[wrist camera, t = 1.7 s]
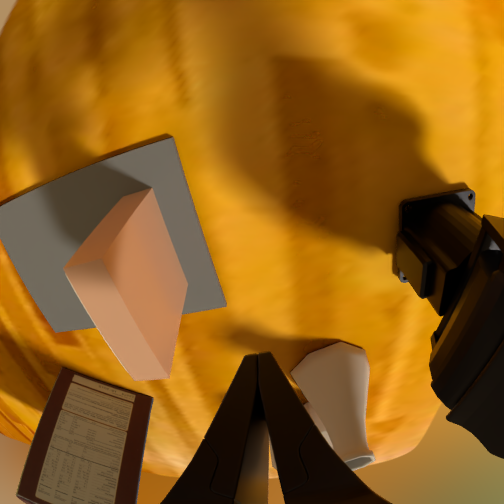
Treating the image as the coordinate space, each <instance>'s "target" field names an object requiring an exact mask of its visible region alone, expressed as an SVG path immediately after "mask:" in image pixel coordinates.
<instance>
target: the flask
mask: <svg viewBox="0 0 504 504" xmlns="http://www.w3.org/2000/svg"><path fill="white" fill-rule="evenodd" d="M369 371H370V366H369V363H368V359H367V356H366V352H365V350H364V349H361V348H358V347H355V346H352V345H349V344H346V343H343V342H339V343H336V344H333V345H331V346H328V347H325V348H323V349H320V350H317V351H315V352H312V353H309V354H308V355H307V356H306V357H305V358H304V359H303V360H302V361H301V362H300V363H299V364H298V365H297V366H296V367H295V368H294V369H293V370H292V372H291V373H290V374H291V375H292V377H293V379H294V380H295V382H296V383H297V385H298V386H299V388H300V389H301V391H302V393H303V394H304V396H305V397H306V399H307V400H308V401H309V403H310V404H311V406H312V407H313V409H314V410H315V412H316V414H317V415H318V417H319V418H320V420H321V421H322V423H323V425H324V426H325V428H326V431H327V433H328V435H329V438H330V440H331V442H332V445H333V449H334V451H335V452H336V453H337V455H338V456H339V457H340V458H341V459H342V460H343V461H344V462H345V463H346V465H347V466H348V467H349V468H350V469H351V470H352V471H353V470H356V469H360V468H363V467H365V466H367V465H369V464H370V463H372V462H374V461H375V456H374V454H373V452H372V451H371V450H369V448H368V444H367V440H366V426H365V417H366V405H367V393H368V383H369Z"/></svg>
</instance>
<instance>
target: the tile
mask: <svg viewBox="0 0 504 504" xmlns="http://www.w3.org/2000/svg"><path fill="white" fill-rule="evenodd" d="M63 269H64V271H65V274H66V276H67V278H68V280H69V282H70V284H71V285H72V287H73V289H74V291H75V292H76V294H77V296H78V298H79V299H80V301H81V303H82V304H83V306H84V308H85V309H86V311H87V313H88V314H89V316H90V318H91V319H92V321H93V322H94V324H95V326H96V327H97V329H98V330H99V332H100V333H101V335H102V336H103V338H104V339H105V341H106V342H107V344H108V345H109V347H110V348H111V350H112V351H113V353H114V354H115V356H116V357H117V358H118V360H119V361H120V363H121V364H122V365H123V367H124V368H125V370H126V371H127V372H128V373H129V374H130V376H131V377H132V378H133V380H134V381H141V380H155V379H167V378H170V372H171V367H172V361H173V356H174V351H175V345H176V340H177V335H178V330H179V325H180V320H181V315H182V311H183V306H184V301H185V296H186V292H187V287H188V282H187V280H186V277H185V275H184V272H183V270H182V267H181V264H180V262H179V259H178V257H177V254H176V252H175V249H174V246H173V244H172V241H171V238H170V236H169V233H168V230H167V228H166V225H165V222H164V219H163V217H162V214H161V211H160V208H159V205H158V203H157V200H156V197H155V194H154V191H153V188H150V189H146V190H143V191H140V192H136V193H133V194H130V195H126V196H123V197H122V198H121V199H120V200H119V202H118V203H117V204H116V205H115V206H114V207H113V208H112V209H111V210H110V212H109V213H108V214H107V215H106V216H105V217H104V218H103V220H102V221H101V222H100V223H99V224H98V226H97V227H96V228H95V229H94V230H93V231H92V233H91V234H90V235H89V236H88V237H87V239H86V240H85V241H84V242H83V244H82V245H81V246H80V247H79V249H78V250H77V251H76V252H75V254H74V255H73V256H72V257H71V259H70V260H69V261H68V263H67V264H66V265H65V267H64V268H63Z"/></svg>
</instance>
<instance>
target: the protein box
mask: <svg viewBox="0 0 504 504" xmlns="http://www.w3.org/2000/svg"><path fill="white" fill-rule="evenodd" d="M152 403H153V398H152V397H149V396H145V395H142V394H139V393H135V392H132V391H129V390H125V389H122V388H119V387H116V386H113V385H110V384H107V383H104V382H101V381H98V380H95V379H92V378H89V377H87V376H84V375H81V374H79V373H76V372H73V371H71V370H68V369H66V368H63V367H62V368H61V370H60V372H59V375H58V377H57V379H56V382H55V384H54V386H53V389H52V391H51V393H50V396H49V398H48V401H47V403H46V406H45V408H44V411H43V414H42V416H41V419H40V421H39V424H38V427H37V429H36V432H35V435H34V438H33V440H32V443H31V446H30V449H29V453H28V456H27V459H26V462H25V465H24V469H23V472H22V475H21V478H20V482H19V485H18V489H17V493H16V496H17V497H18V498H19V499H20V500H22V501H23V502H25V503H26V504H137V496H138V489H139V481H140V475H141V468H142V462H143V455H144V449H145V443H146V437H147V431H148V425H149V419H150V413H151V408H152Z"/></svg>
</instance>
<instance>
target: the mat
mask: <svg viewBox="0 0 504 504" xmlns="http://www.w3.org/2000/svg"><path fill="white" fill-rule="evenodd" d="M150 188H153V191H154V194H155V197H156V200H157V203H158V205H159V208H160V211H161V214H162V217H163V219H164V222H165V225H166V228H167V230H168V233H169V236H170V238H171V241H172V244H173V246H174V249H175V252H176V254H177V257H178V259H179V262H180V264H181V267H182V270H183V272H184V275H185V277H186V280H187V282H188V287H187V292H186V296H185V301H184V306H183V311H182V314H187V313H193V312H199V311H205V310H210V309H216V308H221V307H226V304H227V303H226V300H225V297H224V294H223V291H222V288H221V286H220V283H219V280H218V277H217V274H216V271H215V268H214V265H213V262H212V259H211V256H210V253H209V250H208V247H207V244H206V241H205V238H204V235H203V232H202V229H201V226H200V222H199V219H198V216H197V213H196V210H195V207H194V204H193V200H192V197H191V194H190V191H189V188H188V184H187V181H186V178H185V175H184V171H183V168H182V165H181V161H180V158H179V155H178V151H177V148H176V145H175V141H174V138H173V137H171V138H167V139H164V140H161V141H158V142H155V143H151V144H148V145H145V146H142V147H139V148H136V149H133V150H130V151H127V152H124V153H122V154H119V155H116V156H113V157H111V158H108V159H105V160H102V161H100V162H97V163H95V164H92V165H89V166H87V167H84V168H82V169H79V170H77V171H75V172H72V173H70V174H67V175H65V176H63V177H60V178H58V179H56V180H53V181H51V182H49V183H47V184H45V185H42V186H40V187H38V188H36V189H34V190H32V191H29V192H27V193H25V194H23V195H21V196H19V197H17V198H15V199H13V200H11V201H9V202H7V203H5V204H3V205H1V206H0V239H1V241H2V243H3V245H4V247H5V249H6V251H7V253H8V255H9V257H10V258H11V260H12V262H13V264H14V266H15V268H16V270H17V271H18V273H19V275H20V277H21V279H22V280H23V282H24V284H25V286H26V287H27V289H28V291H29V292H30V294H31V296H32V297H33V299H34V301H35V302H36V304H37V305H38V307H39V308H40V310H41V312H42V313H43V315H44V316H45V318H46V319H47V321H48V322H49V324H50V325H51V327H52V328H53V330H54V331H55V332H64V331H72V330H80V329H88V328H95V327H96V326H95V324H94V322H93V321H92V319H91V318H90V316H89V314H88V313H87V311H86V309H85V308H84V306H83V304H82V303H81V301H80V299H79V298H78V296H77V294H76V292H75V291H74V289H73V287H72V285H71V284H70V282H69V280H68V278H67V276H66V274H65V271H64V269H63V268H64V267H65V265H66V264H67V263H68V261H69V260H70V259H71V257H72V256H73V255H74V254H75V252H76V251H77V250H78V249H79V247H80V246H81V245H82V244H83V242H84V241H85V240H86V239H87V237H88V236H89V235H90V234H91V233H92V231H93V230H94V229H95V228H96V227H97V226H98V224H99V223H100V222H101V221H102V220H103V218H104V217H105V216H106V215H107V214H108V213H109V212H110V210H111V209H112V208H113V207H114V206H115V205H116V204H117V203H118V202H119V200H120V199H121V198H122V197H123V196H126V195H130V194H133V193H136V192H140V191H143V190H146V189H150Z"/></svg>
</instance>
